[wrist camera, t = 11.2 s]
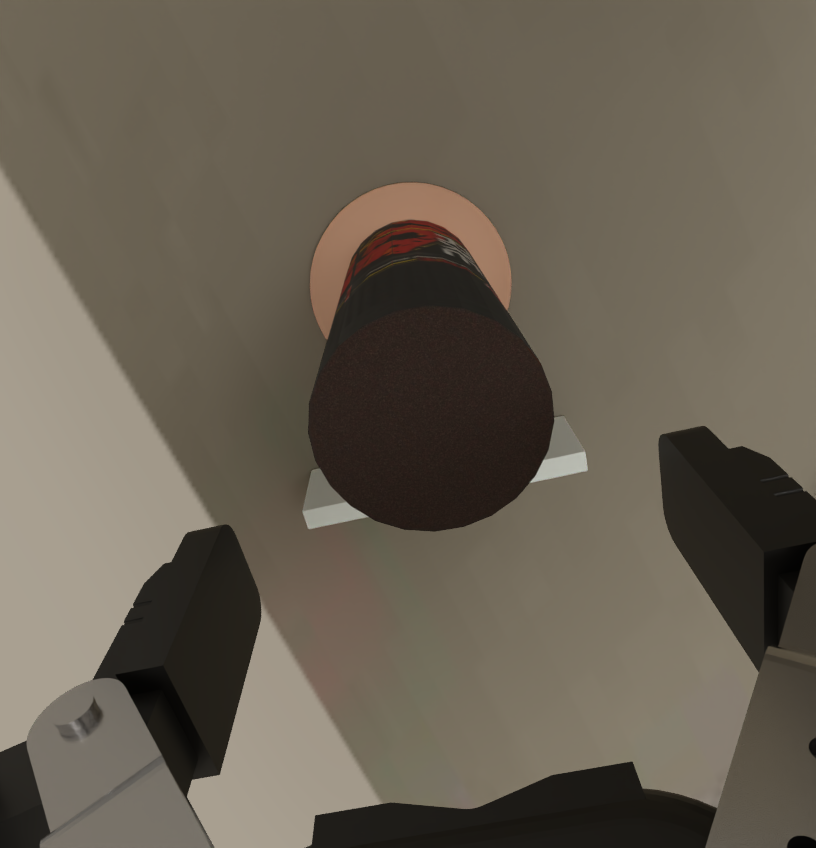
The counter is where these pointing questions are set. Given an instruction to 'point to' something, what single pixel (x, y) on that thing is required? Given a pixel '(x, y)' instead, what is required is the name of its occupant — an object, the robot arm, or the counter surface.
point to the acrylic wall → (332, 508)
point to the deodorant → (426, 387)
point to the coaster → (399, 206)
